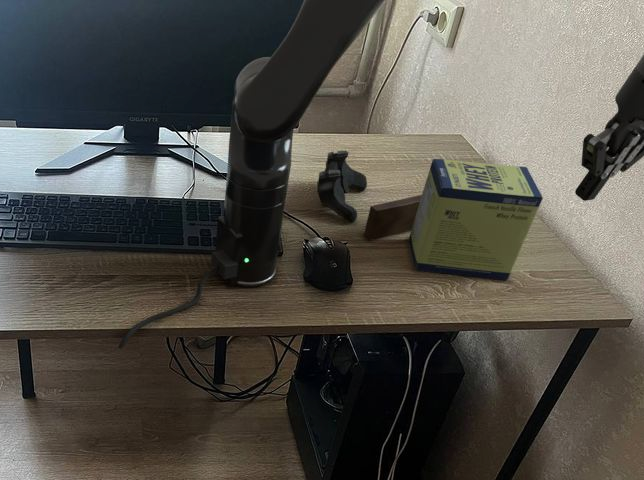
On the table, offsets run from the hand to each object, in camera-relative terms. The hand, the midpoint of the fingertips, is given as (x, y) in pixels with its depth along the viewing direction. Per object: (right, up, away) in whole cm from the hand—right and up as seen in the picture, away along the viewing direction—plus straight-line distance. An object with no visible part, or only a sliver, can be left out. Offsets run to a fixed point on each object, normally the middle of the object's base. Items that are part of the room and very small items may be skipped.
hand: (583, 196), depth 94 cm
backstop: (-12, +2, +33) cm, 35 cm away
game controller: (-24, +8, +39) cm, 47 cm away
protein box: (-7, -5, +25) cm, 27 cm away
